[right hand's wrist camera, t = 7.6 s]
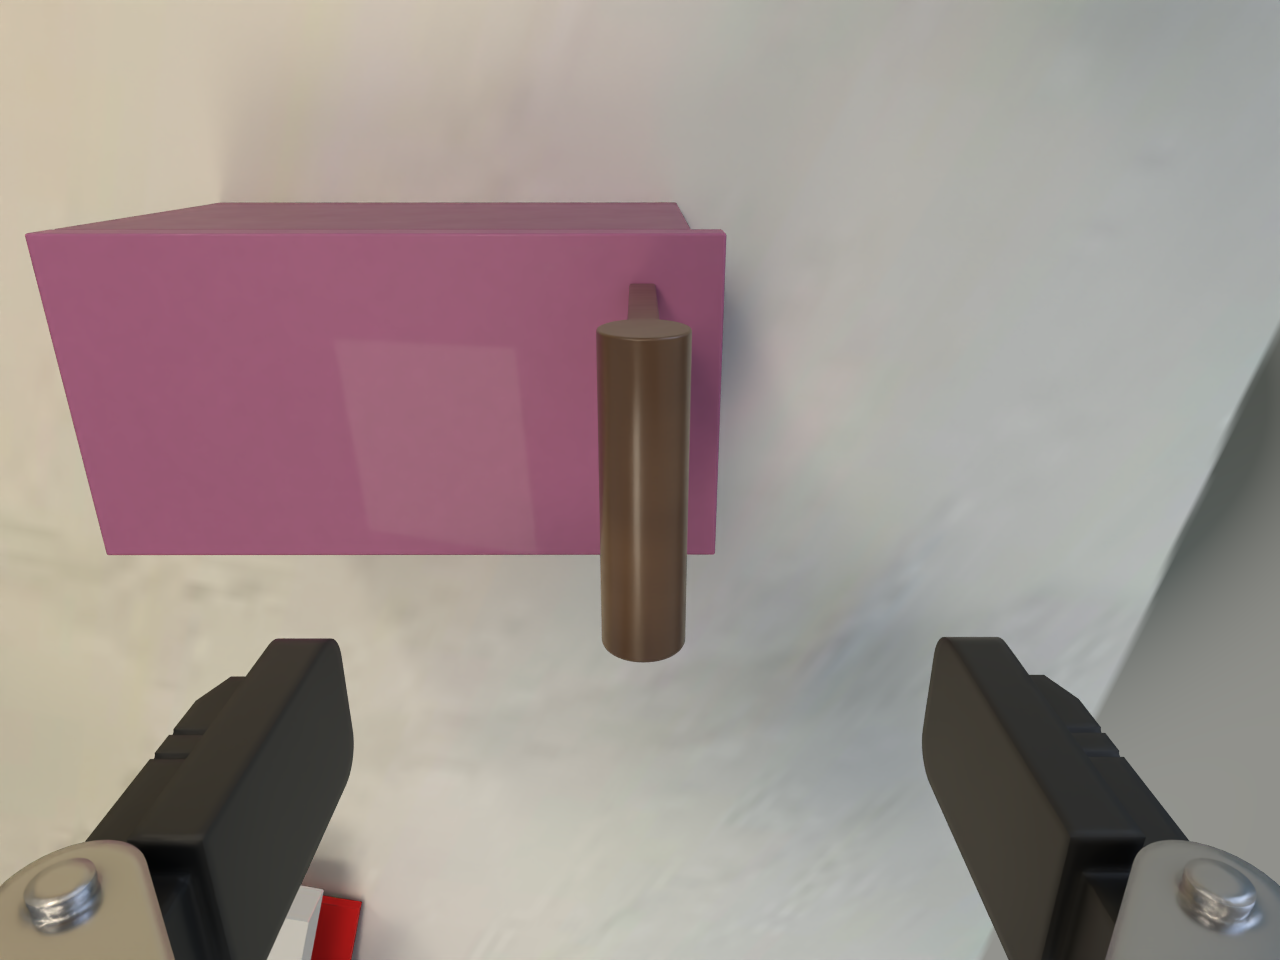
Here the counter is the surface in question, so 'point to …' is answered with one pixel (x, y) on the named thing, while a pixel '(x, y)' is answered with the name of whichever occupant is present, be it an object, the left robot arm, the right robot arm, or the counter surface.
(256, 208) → the chest
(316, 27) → the counter surface
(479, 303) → the lid
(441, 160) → the counter surface
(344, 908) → the toy
